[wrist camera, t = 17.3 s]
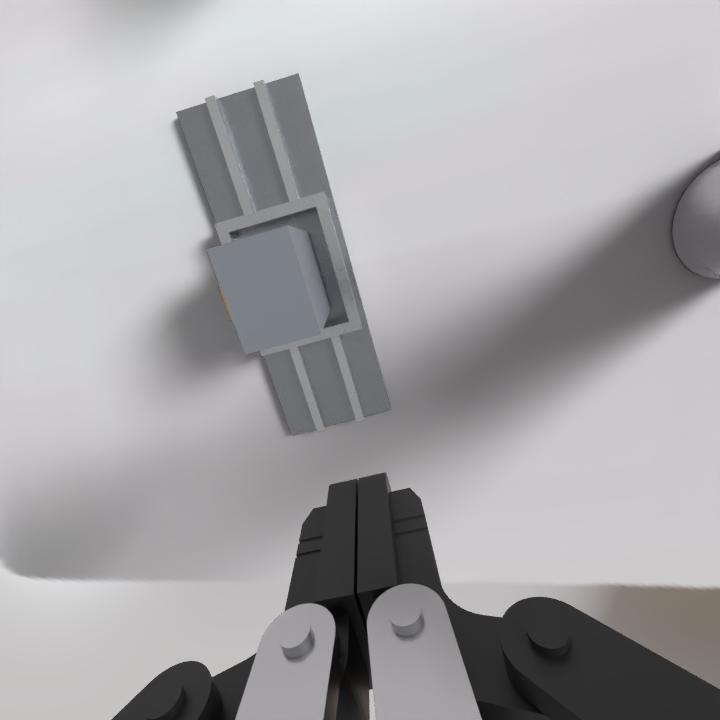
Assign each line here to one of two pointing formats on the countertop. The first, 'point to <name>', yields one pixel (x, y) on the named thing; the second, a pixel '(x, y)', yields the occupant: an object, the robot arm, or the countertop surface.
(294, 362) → the rail
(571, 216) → the countertop surface
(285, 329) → the module
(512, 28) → the countertop surface
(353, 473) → the countertop surface
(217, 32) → the countertop surface
